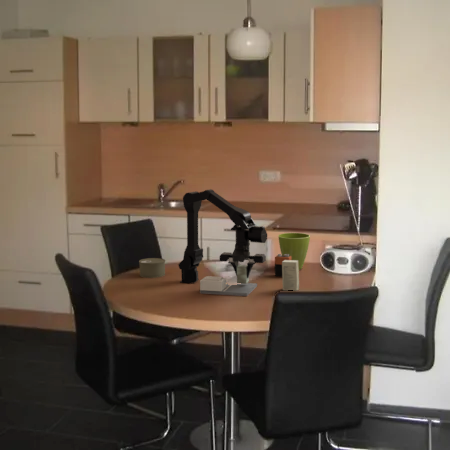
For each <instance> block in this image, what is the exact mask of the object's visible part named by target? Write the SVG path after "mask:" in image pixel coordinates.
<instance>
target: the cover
mask: <svg viewBox="0 0 450 450" xmlns="http://www.w3.org/2000/svg"><path fill="white" fill-rule="evenodd" d="M226 282H227V277H223V276H214V275H213V276H211V275H206V276H204V277H203V278H201V279H200V280H199V286H200V287H199V288H200V290H206V291H222V290H224V289H225V288H226ZM200 290H199V291H200Z"/></svg>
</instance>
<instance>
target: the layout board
mask: <svg viewBox="0 0 450 450" xmlns="http://www.w3.org/2000/svg"><path fill="white" fill-rule="evenodd" d="M257 287H258V283H253V282H248V283H247V284H237V285H228V284H227V283H226V288H225V289H224V290H222V291H206V290H199V293H200V294H205V295H208V294H209V295H221V296H222V295H223V296H237V297H239V296H240V297H248V296H249V295H250V294H251V293H252V292H253V291H254V290H255V289H256V288H257Z"/></svg>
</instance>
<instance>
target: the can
mask: <svg viewBox="0 0 450 450" xmlns="http://www.w3.org/2000/svg"><path fill="white" fill-rule="evenodd" d="M165 262H166V259H165V258H160V257H148V258H142V259H139V261H138V263H139V264H138V265H139V277H142V278H146V279H147V278H148V279H153V278H155V279H156V278H162V277H164V276H166V263H165Z"/></svg>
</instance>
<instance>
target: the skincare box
mask: <svg viewBox="0 0 450 450" xmlns="http://www.w3.org/2000/svg"><path fill="white" fill-rule="evenodd" d="M299 272H300V270H299V264H298V260H284V261H283V262H282V277H281V278H282V291H288V290H293V291H292V292H297V291H298V290H299V289H300V273H299Z"/></svg>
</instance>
